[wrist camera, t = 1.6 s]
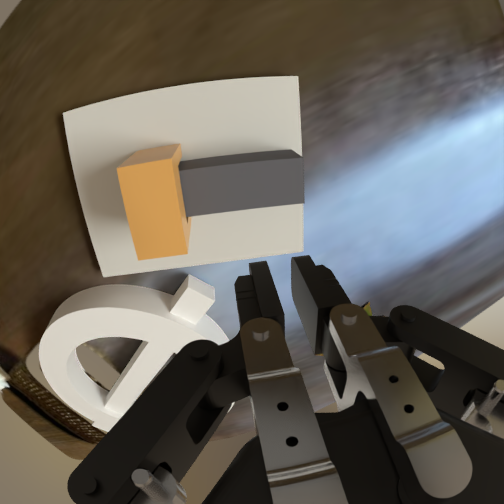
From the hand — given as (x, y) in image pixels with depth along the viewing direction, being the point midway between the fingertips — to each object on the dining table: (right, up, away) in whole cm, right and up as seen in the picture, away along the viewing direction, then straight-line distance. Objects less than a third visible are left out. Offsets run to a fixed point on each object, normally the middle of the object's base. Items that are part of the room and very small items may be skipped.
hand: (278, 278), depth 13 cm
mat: (-7, +8, +16) cm, 20 cm away
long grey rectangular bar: (-4, +8, +15) cm, 18 cm away
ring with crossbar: (-17, -15, +28) cm, 36 cm away
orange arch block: (-9, +7, +15) cm, 19 cm away
